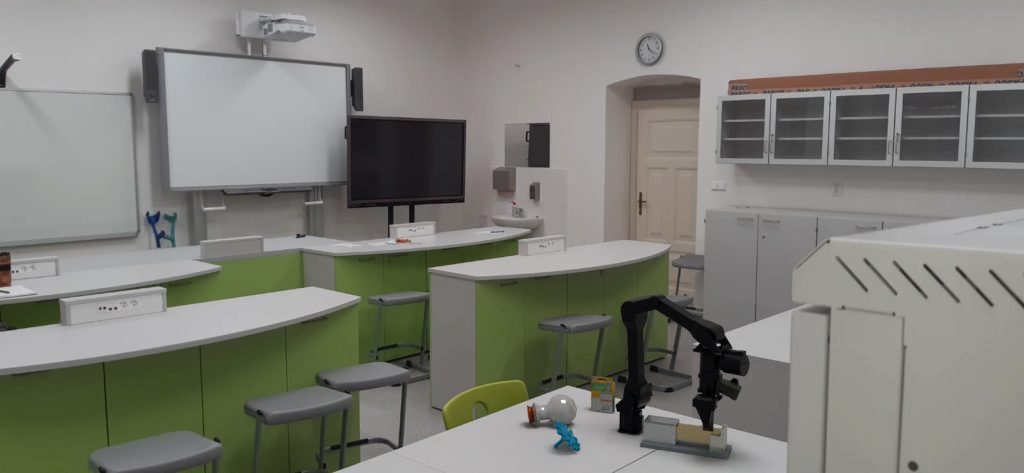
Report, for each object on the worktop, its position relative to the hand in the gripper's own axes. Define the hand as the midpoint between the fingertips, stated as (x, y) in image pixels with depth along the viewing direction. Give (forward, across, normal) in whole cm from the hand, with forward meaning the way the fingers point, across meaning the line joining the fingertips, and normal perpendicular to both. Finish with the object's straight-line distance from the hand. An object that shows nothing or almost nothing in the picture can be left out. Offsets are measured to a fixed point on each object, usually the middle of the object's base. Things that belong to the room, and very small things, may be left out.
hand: (708, 424), depth 220 cm
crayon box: (+8, +23, +37) cm, 44 cm away
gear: (+8, -14, +36) cm, 40 cm away
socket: (+8, 0, -3) cm, 8 cm away
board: (+8, 0, +6) cm, 10 cm away
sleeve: (+8, 0, +13) cm, 15 cm away
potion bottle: (+8, +3, +47) cm, 48 cm away
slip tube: (+5, 0, +3) cm, 6 cm away
